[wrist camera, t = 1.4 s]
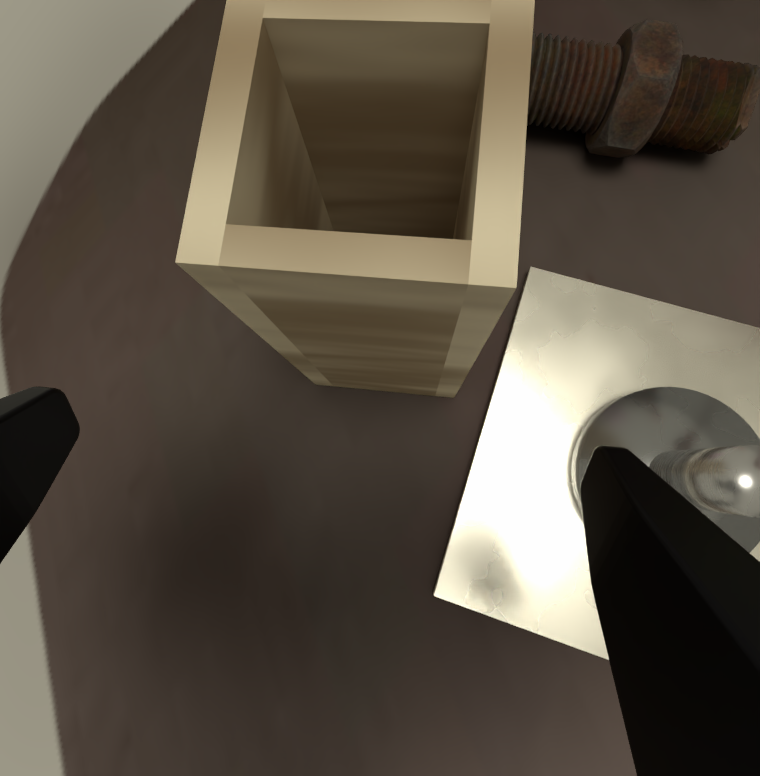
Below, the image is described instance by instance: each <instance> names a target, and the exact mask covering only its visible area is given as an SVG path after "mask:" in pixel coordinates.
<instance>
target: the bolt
mask: <svg viewBox="0 0 760 776" xmlns="http://www.w3.org/2000/svg"><path fill="white" fill-rule="evenodd" d="M682 54H683V41H682V39H681V37H680V34H679V31H678V28H677V25H676V23H669V22H662V21H655V20H647V19H646V20H644V21H642V22H640V23H637V24H635V25H633V26H632V27H630V28H629V29H627V30H626V31H625V32H624V33H623V34H622V36H621V37H620V39H619V40H618V41H617V43H616V45H615V46H614V47H612V45H611V43H607V44H606V45H605V46H604V45H603V42H602V41H601V42H599V43H598V44H596V45H595V43H594V41H593V40H591V41H590V42H589V43H588V44H587V43H586V41H585V39H582V40H581V41H580V42H579V43H578V40H577V39H576V38H573V40H572V41H571V42H570V41H569V38H568V37H567V36H566V37H565V38H564V39H563V40H562V41H561V38H560V36H559V35H557V36H556V37H555V39H554V40H553V38H552V35H551V34H549V35H548V36H547V37H546V38H545V39H544V35H543V33H540V34H539V35H538V37H537V38H536V34H535V32H533V35H532V51H531V67H530V83H529V98H528V114H527V121H528V124H529V125H531V124H532V123H533V122H534V121H535V123H536V125H537V126H538V125H539V124H540V123H541V122H543V126H544V127H546V126H547V125H548V124H549V123H550V125H551V128H554V127H555V126H556V125H557V124H558V128H559V130H561V129H562V128H563V127H564V126H565V127H566V130H567V131H569V130H570V129H571V128H572V127H573V129H574V132H577V131H578V130H579V129H580V128H581V131H582V133H585V132H586V136H585V145H586V147H587V149H588V151H589V153H591V154H597V155H604V156H610V157H616V158H621V157H628V156H632V155H634V154H636V153H637V152H638V151H639V150H640V149H641V148H642V147H643V146H644V145H645V143H646V144H647V143H648V142H650V143H651V144H653V145H654V144H657V143H659V145H660V146H664V145H665V144H666V146H667V147H672V146H674V147H675V148H677V149H678V148H680V147H682V149H684V150H687V149H690V150H692V151H696V150H697V151H698V152H700V153H703V152H705V153H707V154H712V153H714V152H716V151H717V150H718V151H720V150H723V149H725V148H726V147H728V145H729V142H730V140H735V139H737V138H738V137H739V136H740V135H741V134H742V133H743V132H744V131H745V130H746V128H747V127H748V124H749V121H750V118H751V116H752V113H753V110H754V107H755V104H756V101H757V98H758V95H759V92H760V67H758V66H757V65H751V64H749V63H744V64H742V63H740V62H737V63H735V64H734V62H733V61H726V62H725V61H723V60H718V61H717V60H715V59H713V58H711V59H709V60H708V59H707V58H706V57H702V58H698V57H697V56H693V57H690V56H689V55H682Z"/></svg>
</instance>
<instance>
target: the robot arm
mask: <svg viewBox="0 0 760 776" xmlns="http://www.w3.org/2000/svg"><path fill="white" fill-rule="evenodd" d="M79 431H80V427H79V423H78V421H77V419H76V416H75V414H74V412H73V410H72V408H71V406H70V404H69V401H68V399H67V397H66V395H65V394H64V393H63V392H62V391H61V390H59V389H56V388H48V387H31V388H28V389H26V390H23V391H20V392H17V393H15V394H12V395H9V396H6V397H4V398H1V399H0V563H1V562H2V560H3V559H4V557H5V556H6V555H7V553H8V552H9V550H10V549H11V547H12V546H13V544H14V543H15V542H16V540H17V539H18V537H19V536H20V535H21V533H22V532H23V530H24V529H25V527H26V526H27V525H28V523H29V522H30V520H31V519H32V517H33V516H34V514H35V512H36V511H37V509H38V507H39V506H40V504H41V502H42V501H43V499H44V497H45V495H46V494H47V492H48V490H49V488H50V487H51V485H52V483H53V481H54V480H55V478H56V476H57V474H58V472H59V471H60V469H61V467H62V465H63V464H64V462H65V460H66V458H67V457H68V455H69V453H70V451H71V449H72V448H73V446H74V444H75V442H76V441H77V439H78V436H79ZM580 498H581V506H582V514H583V522H584V531H585V539H586V547H587V555H588V564H589V571H590V578H591V585H592V590H593V594H594V599H595V603H596V608H597V612H598V616H599V620H600V624H601V628H602V632H603V637H604V641H605V645H606V649H607V653H608V657H609V661H610V665H611V670H612V674H613V678H614V682H615V686H616V690H617V694H618V699H619V703H620V707H621V711H622V715H623V719H624V723H625V728H626V732H627V736H628V740H629V744H630V748H631V752H632V757H633V761H634V765H635V769H636V773H637V776H760V561H758V560H757V559H756V558H755V557H754V556H753V555H751V554H750V553H749V552H748V551H747V550H745V549H744V548H743V547H742V546H741V545H740V544H738V543H737V542H736V541H735V540H734V539H733V538H731V537H730V536H729V535H728V534H727V533H726V532H724V531H723V530H722V529H721V528H720V527H719V526H717V525H716V524H715V523H714V522H713V521H712V520H710V519H709V518H708V517H707V516H706V515H705V514H703V513H702V512H701V511H700V510H699V509H698V508H696V507H695V506H694V505H693V504H692V503H691V502H689V501H688V500H687V499H686V498H685V497H684V496H682V495H681V494H680V493H679V492H678V491H677V490H675V489H674V488H673V487H672V486H671V485H670V484H668V483H667V482H666V481H665V480H664V479H663V478H661V477H660V476H659V475H658V474H657V473H655V472H654V471H653V470H652V469H651V468H650V467H648V466H647V465H646V464H645V463H644V462H643V461H641V460H640V459H639V458H638V457H637V456H636V455H634V454H633V453H632V452H631V451H630V450H628V449H627V448H624V447H617V446H608V445H600V446H598V447H596V449H595V450H594V452H593V454H592V456H591V459H590V461H589V464H588V466H587V469H586V471H585V474H584V476H583V478H582V481H581V486H580Z"/></svg>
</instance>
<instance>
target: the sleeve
mask: <svg viewBox="0 0 760 776" xmlns="http://www.w3.org/2000/svg"><path fill="white" fill-rule="evenodd" d="M534 4H535V0H227V2H226V7H225V12H224V17H223V22H222V27H221V32H220V37H219V42H218V48H217V53H216V58H215V63H214V68H213V73H212V78H211V83H210V88H209V93H208V98H207V104H206V109H205V114H204V119H203V124H202V129H201V134H200V139H199V144H198V149H197V155H196V160H195V165H194V170H193V175H192V180H191V185H190V190H189V195H188V200H187V206H186V211H185V216H184V221H183V226H182V231H181V236H180V241H179V246H178V251H177V257H176V262H175V263H177V264H178V265H179V266H180V267H181V268H182V269H183V270H185V271H186V272H187V273H188V274H189V275H190V276H191V277H193V278H194V279H195V280H196V281H197V282H198V283H199V284H201V285H202V286H203V287H204V288H205V289H206V290H208V291H209V292H210V293H211V294H212V295H213V296H214V297H216V298H217V299H218V300H219V301H220V302H221V303H222V304H224V305H225V306H226V307H227V308H228V309H229V310H230V311H232V312H233V313H234V314H235V315H236V316H237V317H239V318H240V319H241V320H242V321H243V322H244V323H245V324H247V325H248V326H249V327H250V328H251V329H252V330H253V331H255V332H256V333H257V334H258V335H259V336H260V337H261V338H263V339H264V340H265V341H266V342H267V343H268V344H270V345H271V346H272V347H273V348H274V349H275V350H276V351H278V352H279V353H280V354H281V355H282V356H283V357H284V358H286V359H287V360H288V361H289V362H290V363H291V364H292V365H294V366H295V367H296V368H297V369H298V370H299V371H301V372H302V373H303V374H304V375H305V376H306V377H307V378H309V379H310V380H311V381H312V382H313V383H314V384H315V385H325V386H336V387H346V388H356V389H367V390H377V391H387V392H398V393H408V394H418V395H429V396H439V397H449V398H454V397H455V395H456V394H457V392H458V390H459V388H460V387H461V385H462V383H463V381H464V380H465V378H466V376H467V374H468V373H469V371H470V369H471V367H472V365H473V364H474V362H475V360H476V358H477V357H478V355H479V353H480V351H481V350H482V348H483V346H484V344H485V343H486V341H487V339H488V337H489V336H490V334H491V332H492V330H493V328H494V327H495V325H496V323H497V321H498V320H499V318H500V316H501V314H502V313H503V311H504V309H505V307H506V306H507V304H508V302H509V300H510V299H511V297H512V295H513V293H514V291H515V290H516V288H517V272H518V257H519V241H520V225H521V209H522V193H523V177H524V162H525V146H526V130H527V114H528V98H529V83H530V67H531V51H532V35H533V19H534Z"/></svg>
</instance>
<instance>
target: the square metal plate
mask: <svg viewBox="0 0 760 776" xmlns="http://www.w3.org/2000/svg"><path fill="white" fill-rule="evenodd" d="M600 445H608V446H617V447H624V448H627V449H628V450H630V451H631V452H632V453H633V454H634V455H636V456H637V457H638V458H639V459H640V460H641V461H643V462H644V463H645V464H646V465H647V466H648V467H650V468H651V469H652V470H653V471H654V472H655V473H657V474H658V475H659V476H660V477H661V478H663V479H664V480H665V481H666V482H667V483H668V484H670V485H671V486H672V487H673V488H674V489H675V490H677V491H678V492H679V493H680V494H681V495H682V496H684V497H685V498H686V499H687V500H688V501H689V502H691V503H692V504H693V505H694V506H695V507H696V508H698V509H699V510H700V511H701V512H702V513H703V514H705V515H706V516H707V517H708V518H709V519H710V520H712V521H713V522H714V523H715V524H716V525H717V526H719V527H720V528H721V529H722V530H723V531H724V532H726V533H727V534H728V535H729V536H730V537H731V538H733V539H734V540H735V541H736V542H737V543H738V544H740V545H741V546H742V547H743V548H744V549H745V550H747V551H748V552H749V553H750V554H751V555H753V556H754V557H755V558H756V559H757V560H758V561H760V328H757V327H754V326H750V325H746V324H742V323H739V322H735V321H731V320H727V319H724V318H720V317H716V316H713V315H709V314H705V313H701V312H698V311H694V310H690V309H686V308H683V307H679V306H675V305H672V304H668V303H664V302H660V301H657V300H653V299H649V298H645V297H642V296H638V295H634V294H631V293H627V292H623V291H619V290H616V289H612V288H608V287H604V286H601V285H597V284H593V283H590V282H586V281H582V280H578V279H575V278H571V277H567V276H564V275H560V274H556V273H552V272H549V271H545V270H541V269H537V268H534V267H530V269H529V271H528V272H527V275H526V279H525V282H524V286H523V289H522V292H521V296H520V299H519V302H518V306H517V309H516V313H515V316H514V319H513V323H512V326H511V330H510V333H509V336H508V340H507V343H506V346H505V350H504V353H503V357H502V360H501V363H500V367H499V370H498V374H497V377H496V380H495V384H494V387H493V390H492V394H491V397H490V401H489V404H488V407H487V411H486V414H485V418H484V421H483V424H482V428H481V431H480V434H479V438H478V441H477V445H476V448H475V451H474V455H473V458H472V462H471V465H470V468H469V472H468V475H467V478H466V482H465V485H464V489H463V492H462V495H461V499H460V502H459V506H458V509H457V512H456V516H455V519H454V522H453V526H452V529H451V533H450V536H449V539H448V543H447V546H446V550H445V553H444V556H443V560H442V563H441V566H440V570H439V573H438V577H437V580H436V583H435V587H434V590H433V595H434V596H435V597H438V598H441V599H444V600H446V601H449V602H452V603H455V604H457V605H460V606H463V607H465V608H468V609H471V610H474V611H476V612H479V613H482V614H485V615H487V616H490V617H493V618H496V619H498V620H501V621H504V622H506V623H509V624H512V625H515V626H517V627H520V628H523V629H526V630H528V631H531V632H534V633H536V634H539V635H542V636H545V637H547V638H550V639H553V640H556V641H558V642H561V643H564V644H567V645H569V646H572V647H575V648H577V649H580V650H583V651H586V652H588V653H591V654H594V655H597V656H599V657H602V658H605V659H607V660H609V657H608V653H607V649H606V645H605V641H604V637H603V632H602V628H601V624H600V620H599V616H598V612H597V608H596V603H595V599H594V594H593V590H592V585H591V578H590V571H589V564H588V555H587V547H586V539H585V531H584V522H583V514H582V506H581V498H580V486H581V481H582V478H583V476H584V474H585V471H586V469H587V466H588V464H589V461H590V459H591V456H592V454H593V452H594V450H595V449H596V447H598V446H600Z"/></svg>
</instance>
